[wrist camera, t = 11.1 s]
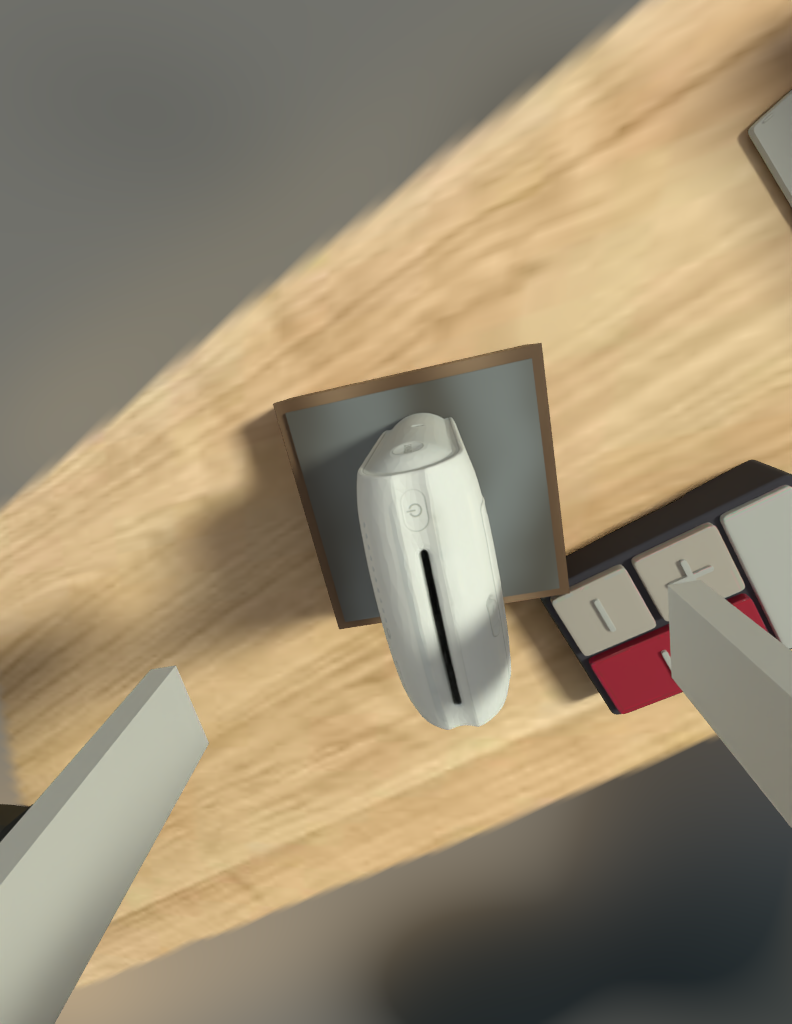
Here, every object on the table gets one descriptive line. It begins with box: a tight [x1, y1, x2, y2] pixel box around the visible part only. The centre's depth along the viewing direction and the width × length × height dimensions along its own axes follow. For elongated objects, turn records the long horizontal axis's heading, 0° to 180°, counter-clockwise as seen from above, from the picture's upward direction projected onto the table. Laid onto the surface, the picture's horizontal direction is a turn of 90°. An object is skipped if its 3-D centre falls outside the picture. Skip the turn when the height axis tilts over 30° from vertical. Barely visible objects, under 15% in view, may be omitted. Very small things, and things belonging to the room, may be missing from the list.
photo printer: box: [357, 413, 511, 730], centre depth 19 cm, size 10×4×12 cm, turn 12°
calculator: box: [540, 460, 792, 714], centre depth 29 cm, size 11×4×15 cm
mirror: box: [273, 343, 570, 629], centre depth 27 cm, size 14×14×4 cm
